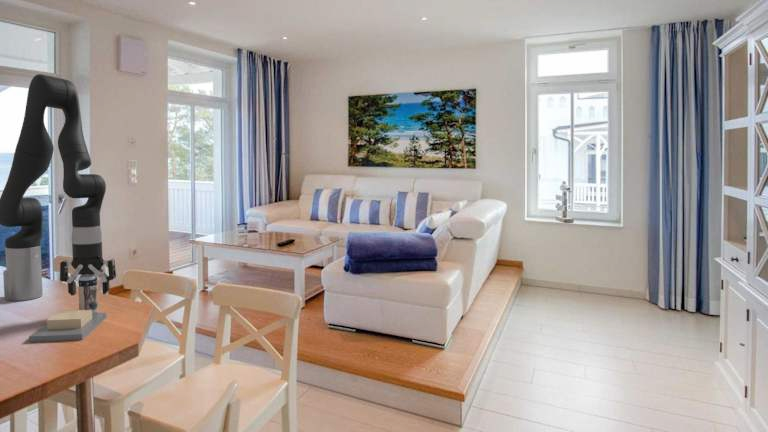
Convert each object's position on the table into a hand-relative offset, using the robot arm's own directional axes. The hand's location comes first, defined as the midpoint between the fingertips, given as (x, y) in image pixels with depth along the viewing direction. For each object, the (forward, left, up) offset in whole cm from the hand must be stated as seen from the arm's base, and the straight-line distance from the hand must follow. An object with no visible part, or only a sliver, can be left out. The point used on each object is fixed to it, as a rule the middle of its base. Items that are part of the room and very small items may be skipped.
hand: (89, 294), depth 139 cm
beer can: (0, 0, -6) cm, 6 cm away
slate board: (0, -13, -6) cm, 14 cm away
